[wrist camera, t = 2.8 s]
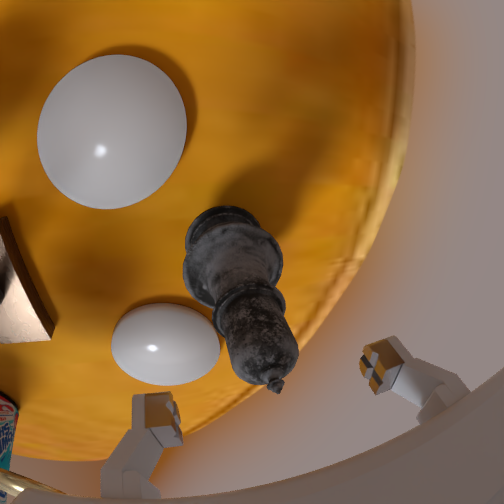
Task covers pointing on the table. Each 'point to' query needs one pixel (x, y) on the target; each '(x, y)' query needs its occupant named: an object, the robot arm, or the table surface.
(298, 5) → the table surface
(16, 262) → the balance
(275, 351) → the chess piece
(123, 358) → the dish high side
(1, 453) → the beverage can
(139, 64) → the dish low side
